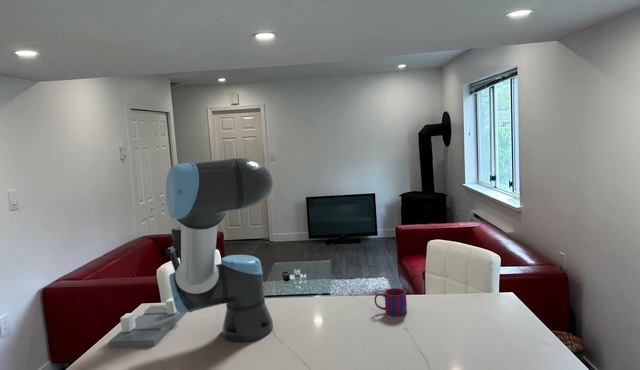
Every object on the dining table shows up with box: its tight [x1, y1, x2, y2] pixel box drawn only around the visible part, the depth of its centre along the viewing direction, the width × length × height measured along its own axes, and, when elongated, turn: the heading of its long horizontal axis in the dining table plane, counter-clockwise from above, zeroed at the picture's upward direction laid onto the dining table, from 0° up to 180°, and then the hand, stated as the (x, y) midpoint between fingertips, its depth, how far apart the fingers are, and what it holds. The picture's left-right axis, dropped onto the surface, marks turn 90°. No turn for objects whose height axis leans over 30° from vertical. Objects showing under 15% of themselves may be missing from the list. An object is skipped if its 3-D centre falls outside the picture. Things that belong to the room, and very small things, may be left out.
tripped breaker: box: [165, 296, 177, 314], centre depth 143 cm, size 4×2×4 cm
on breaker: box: [120, 312, 136, 332], centre depth 131 cm, size 4×2×4 cm
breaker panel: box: [108, 304, 186, 349], centre depth 137 cm, size 26×14×2 cm, turn 175°
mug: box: [374, 287, 408, 318], centre depth 134 cm, size 7×10×7 cm
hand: (191, 295), depth 142 cm, fingers closed
